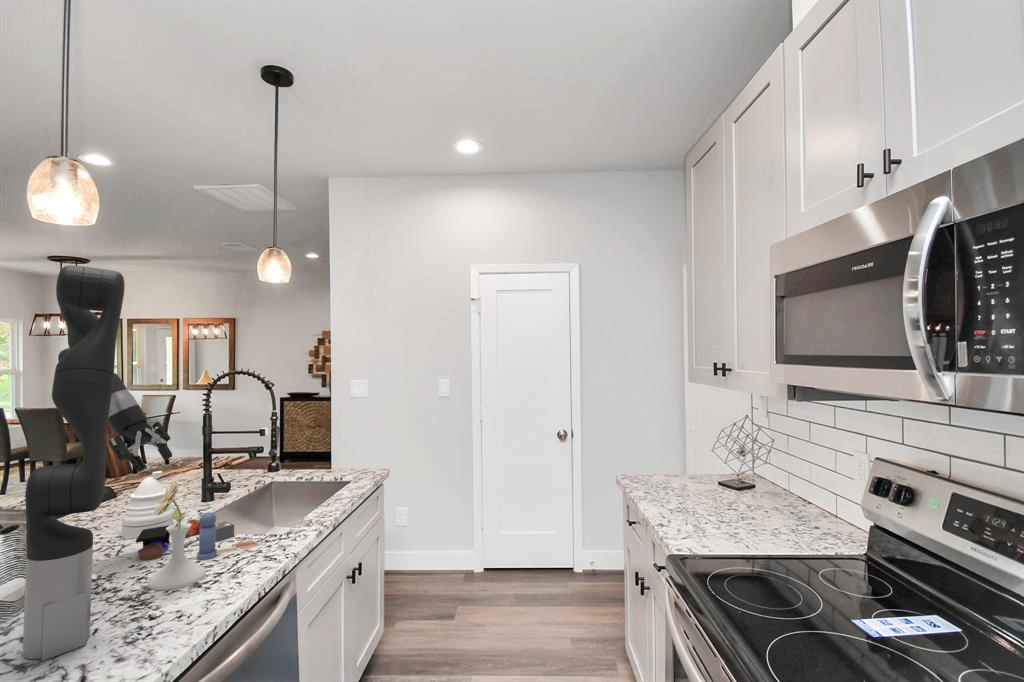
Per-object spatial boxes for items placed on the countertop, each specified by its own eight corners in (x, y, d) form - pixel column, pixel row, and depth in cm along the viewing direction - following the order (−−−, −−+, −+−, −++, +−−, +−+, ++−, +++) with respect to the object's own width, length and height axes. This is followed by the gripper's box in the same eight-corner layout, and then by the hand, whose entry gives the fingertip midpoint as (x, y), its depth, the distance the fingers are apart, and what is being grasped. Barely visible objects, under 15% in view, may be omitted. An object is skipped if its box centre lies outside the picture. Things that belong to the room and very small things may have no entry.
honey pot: (171, 522, 162) (173, 466, 163) (174, 532, 152) (176, 473, 153) (121, 530, 155) (123, 472, 155) (121, 542, 144) (123, 479, 145)
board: (264, 550, 138) (264, 544, 138) (202, 570, 125) (202, 564, 125) (248, 544, 143) (249, 538, 143) (187, 562, 130) (188, 557, 130)
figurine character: (141, 555, 139) (133, 568, 126) (142, 526, 140) (134, 536, 127) (170, 550, 142) (165, 562, 129) (171, 522, 143) (167, 532, 130)
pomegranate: (186, 541, 150) (169, 532, 144) (198, 523, 153) (182, 514, 147) (201, 545, 148) (184, 536, 142) (212, 527, 151) (196, 517, 146)
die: (233, 541, 145) (234, 523, 145) (215, 547, 140) (216, 528, 141) (225, 538, 147) (225, 520, 148) (207, 543, 143) (207, 525, 143)
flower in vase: (156, 579, 120) (159, 475, 121) (210, 572, 124) (212, 471, 125) (137, 604, 108) (140, 488, 108) (197, 595, 112) (200, 483, 113)
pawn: (220, 556, 130) (221, 511, 131) (202, 561, 127) (203, 516, 127) (211, 552, 133) (212, 509, 133) (193, 557, 129) (195, 513, 130)
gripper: (108, 411, 121) (145, 467, 122) (154, 398, 135) (187, 448, 136) (85, 426, 122) (122, 481, 123) (133, 411, 136) (166, 461, 137)
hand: (156, 464), depth 129 cm, fingers open, 8 cm apart
